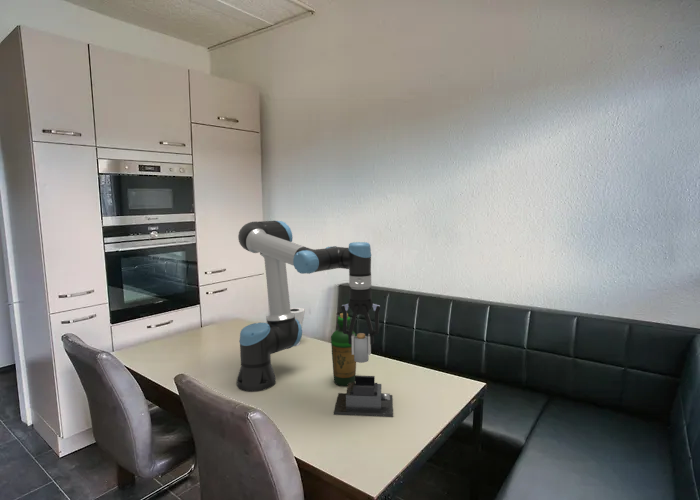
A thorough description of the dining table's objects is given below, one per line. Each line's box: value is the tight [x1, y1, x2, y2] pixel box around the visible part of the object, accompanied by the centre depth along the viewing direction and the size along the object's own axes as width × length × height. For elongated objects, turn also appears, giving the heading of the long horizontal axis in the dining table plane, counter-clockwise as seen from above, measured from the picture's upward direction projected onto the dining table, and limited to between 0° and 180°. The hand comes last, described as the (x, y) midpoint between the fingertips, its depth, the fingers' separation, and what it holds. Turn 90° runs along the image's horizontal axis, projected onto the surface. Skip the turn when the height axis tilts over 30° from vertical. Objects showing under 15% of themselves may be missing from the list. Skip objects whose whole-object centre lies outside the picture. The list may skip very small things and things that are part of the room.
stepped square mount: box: [333, 374, 394, 418], centre depth 144 cm, size 20×14×9 cm
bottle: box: [330, 312, 357, 387], centre depth 163 cm, size 11×11×28 cm
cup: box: [290, 307, 305, 347], centre depth 209 cm, size 11×11×18 cm
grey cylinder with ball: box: [354, 332, 370, 364], centre depth 142 cm, size 5×5×9 cm
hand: (361, 353), depth 142 cm, fingers closed on grey cylinder with ball, 5 cm apart
